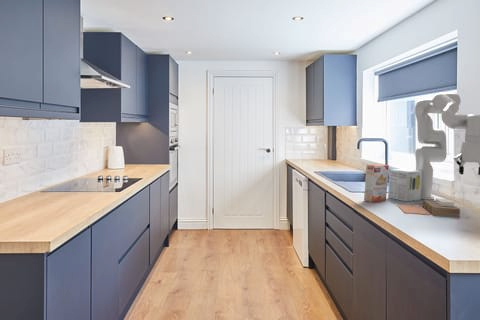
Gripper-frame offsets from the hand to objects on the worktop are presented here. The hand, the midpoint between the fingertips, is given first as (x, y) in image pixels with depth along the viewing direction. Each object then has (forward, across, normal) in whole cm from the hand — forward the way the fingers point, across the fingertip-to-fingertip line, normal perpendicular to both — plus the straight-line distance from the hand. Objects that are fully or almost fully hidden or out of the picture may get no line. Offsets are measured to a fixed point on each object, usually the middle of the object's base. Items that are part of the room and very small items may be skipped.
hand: (470, 174), depth 195 cm
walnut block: (+20, +13, 0) cm, 24 cm away
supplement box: (+20, +24, -33) cm, 46 cm away
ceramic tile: (+16, +11, 0) cm, 19 cm away
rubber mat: (+20, +26, 0) cm, 33 cm away
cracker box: (+20, +42, -20) cm, 51 cm away
